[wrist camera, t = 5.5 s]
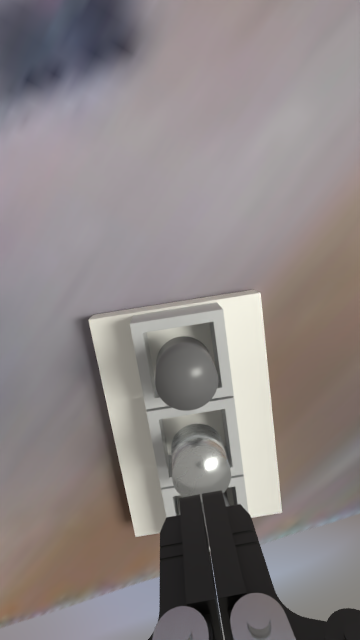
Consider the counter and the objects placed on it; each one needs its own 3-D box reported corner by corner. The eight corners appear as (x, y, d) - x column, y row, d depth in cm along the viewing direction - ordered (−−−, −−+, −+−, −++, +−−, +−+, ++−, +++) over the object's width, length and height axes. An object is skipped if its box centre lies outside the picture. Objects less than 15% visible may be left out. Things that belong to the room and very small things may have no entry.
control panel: (254, 289, 30) (272, 298, 25) (275, 497, 34) (293, 539, 29) (93, 314, 29) (79, 329, 24) (137, 520, 34) (132, 566, 29)
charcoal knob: (207, 332, 25) (214, 346, 21) (214, 383, 25) (222, 405, 22) (151, 340, 25) (150, 356, 21) (161, 392, 25) (160, 415, 22)
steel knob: (219, 419, 26) (227, 446, 23) (225, 465, 27) (234, 497, 24) (167, 428, 26) (168, 455, 23) (175, 473, 27) (177, 506, 24)
